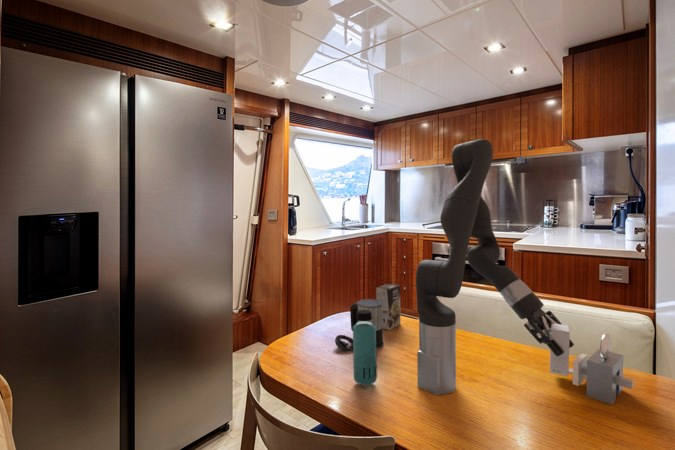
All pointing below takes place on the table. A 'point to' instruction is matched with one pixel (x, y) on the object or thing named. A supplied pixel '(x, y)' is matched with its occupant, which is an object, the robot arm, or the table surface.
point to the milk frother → (376, 320)
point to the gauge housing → (604, 372)
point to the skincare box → (562, 339)
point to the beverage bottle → (364, 349)
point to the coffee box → (389, 304)
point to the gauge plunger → (581, 373)
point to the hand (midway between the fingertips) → (566, 350)
